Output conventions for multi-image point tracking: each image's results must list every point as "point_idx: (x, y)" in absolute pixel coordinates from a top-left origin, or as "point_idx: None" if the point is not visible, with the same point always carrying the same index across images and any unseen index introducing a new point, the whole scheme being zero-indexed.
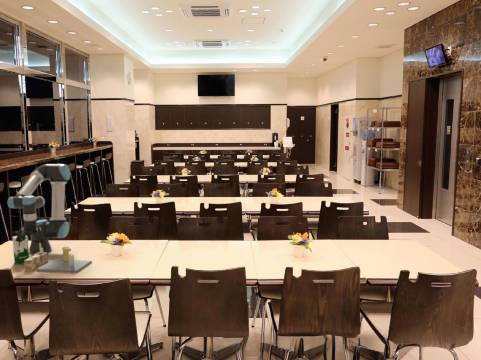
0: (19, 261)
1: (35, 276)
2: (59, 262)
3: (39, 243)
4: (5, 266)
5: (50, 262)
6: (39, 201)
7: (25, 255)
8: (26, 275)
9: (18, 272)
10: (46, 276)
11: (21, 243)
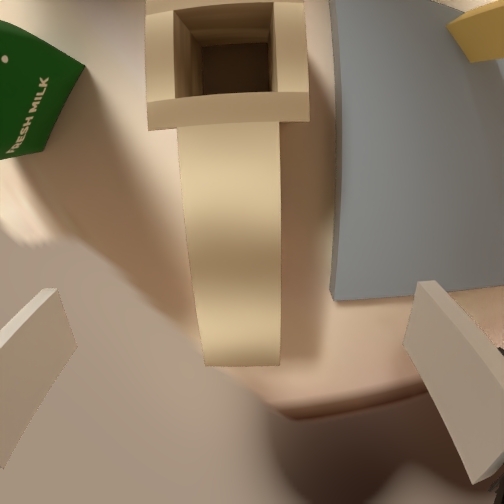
0: (33, 147)
1: (370, 375)
2: (448, 90)
3: (472, 476)
4: (4, 219)
5: (365, 87)
6: None
7: (29, 98)
8: (299, 373)
9: (193, 333)
10: None
11: (2, 437)
